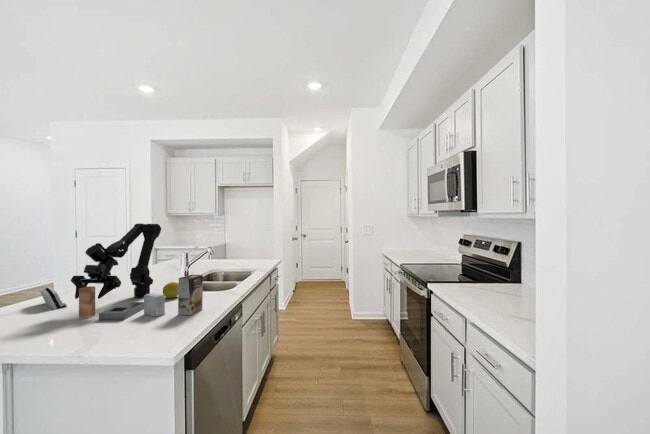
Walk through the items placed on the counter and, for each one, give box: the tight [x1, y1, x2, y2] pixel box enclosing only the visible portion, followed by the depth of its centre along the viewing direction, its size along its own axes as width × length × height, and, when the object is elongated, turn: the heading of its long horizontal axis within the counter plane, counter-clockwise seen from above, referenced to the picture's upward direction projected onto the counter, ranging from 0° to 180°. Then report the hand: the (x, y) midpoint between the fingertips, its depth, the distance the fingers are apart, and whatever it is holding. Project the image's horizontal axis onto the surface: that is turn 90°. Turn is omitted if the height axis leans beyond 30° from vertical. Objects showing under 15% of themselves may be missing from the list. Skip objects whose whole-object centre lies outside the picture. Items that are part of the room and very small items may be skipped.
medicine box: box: [143, 292, 166, 318], centre depth 138 cm, size 8×4×9 cm, turn 65°
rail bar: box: [98, 301, 144, 321], centre depth 138 cm, size 16×10×3 cm, turn 3°
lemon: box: [162, 281, 179, 299], centre depth 166 cm, size 11×8×8 cm
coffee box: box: [177, 274, 204, 316], centre depth 142 cm, size 9×6×16 cm
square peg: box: [78, 285, 96, 319], centre depth 134 cm, size 4×4×12 cm
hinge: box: [39, 286, 68, 310], centre depth 150 cm, size 17×5×10 cm, turn 51°
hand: (87, 298), depth 134 cm, fingers open, 9 cm apart
